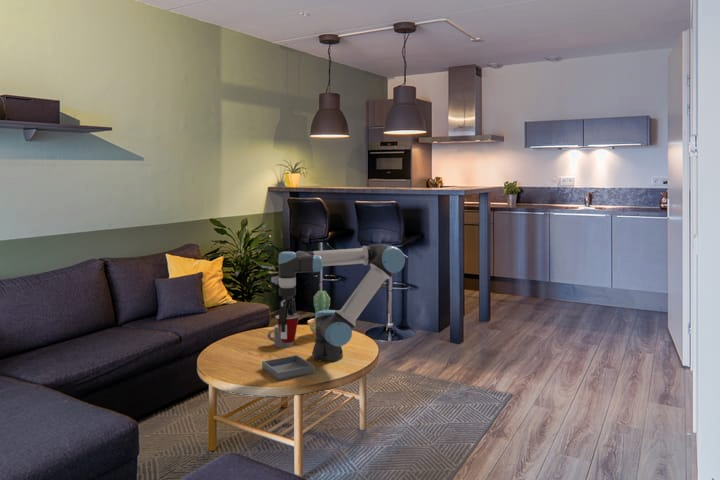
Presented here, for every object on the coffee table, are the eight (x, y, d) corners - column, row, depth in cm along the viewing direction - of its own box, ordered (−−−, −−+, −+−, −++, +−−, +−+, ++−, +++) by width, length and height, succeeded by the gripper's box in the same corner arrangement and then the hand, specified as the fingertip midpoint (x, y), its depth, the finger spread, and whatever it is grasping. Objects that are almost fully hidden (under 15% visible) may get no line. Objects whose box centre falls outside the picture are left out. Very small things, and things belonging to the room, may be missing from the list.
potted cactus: (338, 332, 313) (338, 289, 310) (330, 340, 298) (330, 294, 295) (312, 330, 316) (312, 287, 314) (303, 338, 301) (303, 293, 299)
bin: (296, 362, 263) (296, 354, 262) (314, 373, 248) (314, 365, 248) (262, 368, 253) (262, 361, 253) (278, 380, 239) (278, 372, 238)
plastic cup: (290, 336, 257) (290, 310, 255) (304, 341, 249) (304, 315, 247) (270, 340, 249) (270, 314, 248) (284, 346, 241) (284, 319, 240)
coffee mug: (296, 342, 294) (296, 324, 293) (291, 348, 284) (290, 329, 283) (271, 341, 296) (271, 322, 295) (265, 346, 286) (265, 327, 285)
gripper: (287, 281, 258) (288, 328, 260) (270, 290, 236) (270, 342, 239) (303, 282, 256) (303, 329, 258) (286, 291, 235) (287, 343, 237)
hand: (287, 335), depth 249 cm, fingers closed on plastic cup, 9 cm apart
